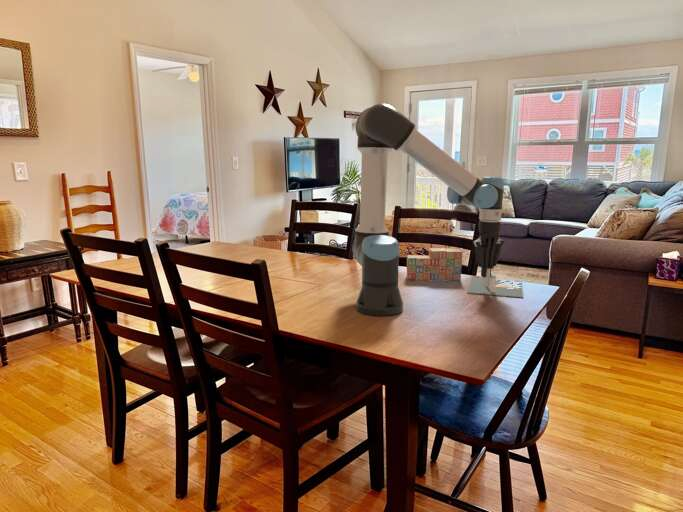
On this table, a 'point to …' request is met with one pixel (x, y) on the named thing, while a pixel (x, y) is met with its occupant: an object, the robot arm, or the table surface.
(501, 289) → the card
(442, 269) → the stack of blocks
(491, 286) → the folding fence panel
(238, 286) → the table surface
